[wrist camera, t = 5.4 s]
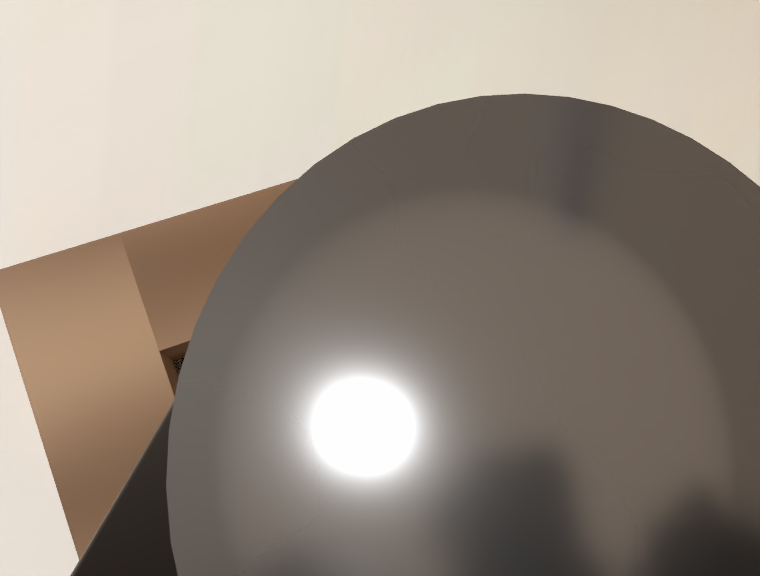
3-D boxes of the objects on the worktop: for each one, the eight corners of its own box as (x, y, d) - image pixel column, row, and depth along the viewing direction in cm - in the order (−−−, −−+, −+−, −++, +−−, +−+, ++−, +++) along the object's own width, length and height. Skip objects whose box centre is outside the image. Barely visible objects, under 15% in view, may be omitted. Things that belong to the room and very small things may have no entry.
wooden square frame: (579, 548, 21) (631, 568, 18) (169, 737, 18) (153, 796, 15) (430, 168, 22) (457, 130, 19) (28, 294, 20) (-11, 273, 17)
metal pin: (418, 533, 15) (929, 876, 4) (225, 525, 15) (112, 905, 3) (427, 344, 16) (875, 140, 4) (244, 329, 16) (212, 47, 4)
